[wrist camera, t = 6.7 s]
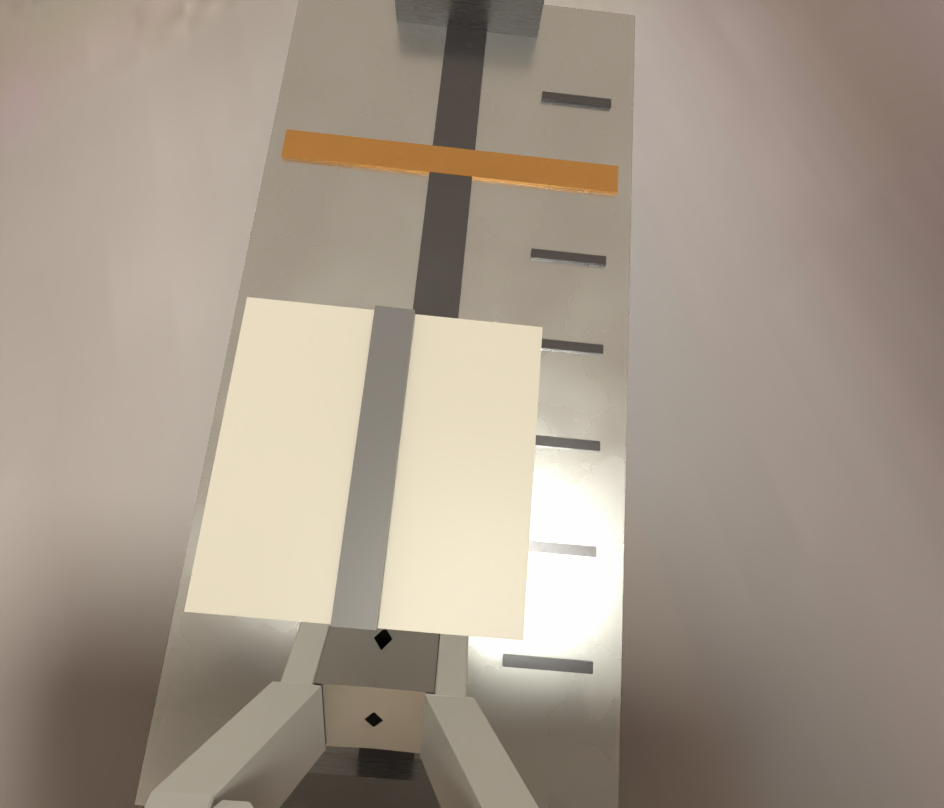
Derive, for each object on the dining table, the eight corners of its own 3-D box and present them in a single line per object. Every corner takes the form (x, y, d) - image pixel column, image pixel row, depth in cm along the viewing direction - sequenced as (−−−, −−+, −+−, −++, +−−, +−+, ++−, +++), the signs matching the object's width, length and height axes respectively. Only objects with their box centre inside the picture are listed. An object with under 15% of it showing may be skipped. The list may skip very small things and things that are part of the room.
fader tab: (356, 414, 16) (250, 256, 7) (489, 427, 16) (546, 286, 7) (331, 591, 15) (168, 663, 6) (474, 603, 15) (522, 692, 6)
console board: (313, 16, 22) (293, -65, 19) (621, 52, 22) (648, -22, 19) (165, 778, 15) (100, 833, 12) (600, 812, 16) (636, 873, 13)
